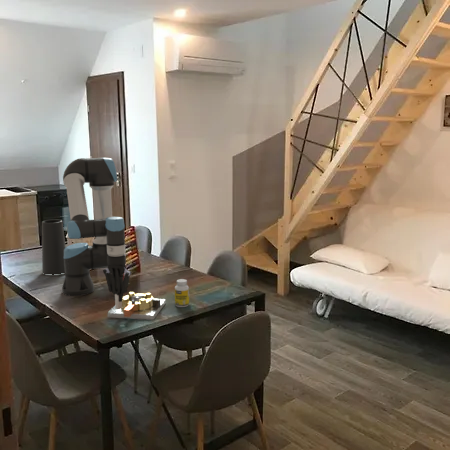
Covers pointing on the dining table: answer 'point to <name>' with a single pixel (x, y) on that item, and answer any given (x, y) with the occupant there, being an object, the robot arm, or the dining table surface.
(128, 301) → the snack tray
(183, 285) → the pill bottle
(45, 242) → the vase
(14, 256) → the dining table surface
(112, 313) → the plate
